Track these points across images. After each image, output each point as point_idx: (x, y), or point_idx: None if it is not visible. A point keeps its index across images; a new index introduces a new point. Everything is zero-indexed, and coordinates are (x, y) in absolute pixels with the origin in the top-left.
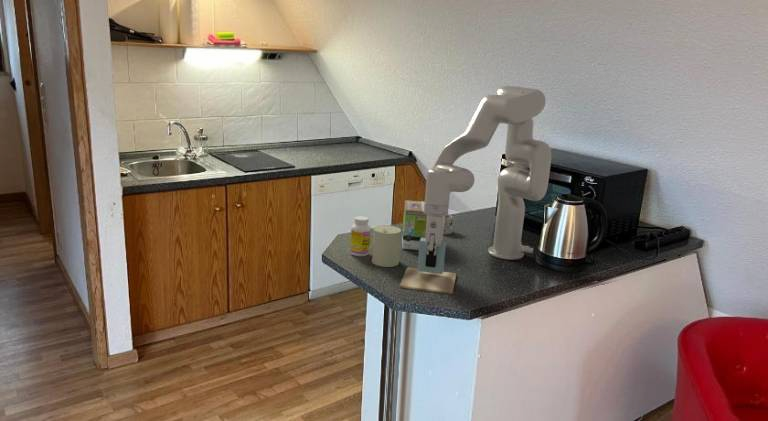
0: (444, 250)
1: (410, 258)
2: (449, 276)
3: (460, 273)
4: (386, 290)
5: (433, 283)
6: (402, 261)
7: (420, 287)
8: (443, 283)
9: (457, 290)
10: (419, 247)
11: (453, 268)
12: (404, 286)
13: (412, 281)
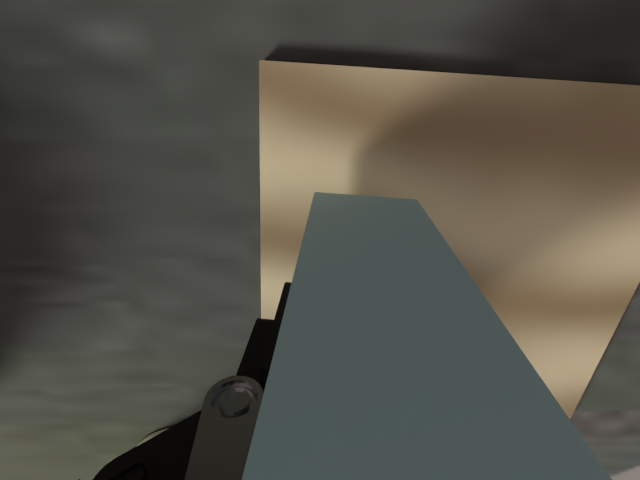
0: (525, 363)
1: (78, 377)
2: (354, 125)
3: (202, 16)
4: (601, 461)
5: (526, 249)
6: (152, 411)
7: (603, 326)
8: (522, 175)
9: (629, 43)
10: None
11: (108, 88)
12: (575, 402)
13: None
